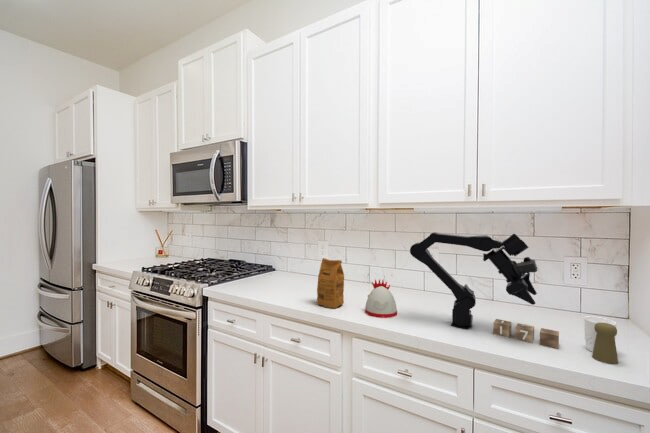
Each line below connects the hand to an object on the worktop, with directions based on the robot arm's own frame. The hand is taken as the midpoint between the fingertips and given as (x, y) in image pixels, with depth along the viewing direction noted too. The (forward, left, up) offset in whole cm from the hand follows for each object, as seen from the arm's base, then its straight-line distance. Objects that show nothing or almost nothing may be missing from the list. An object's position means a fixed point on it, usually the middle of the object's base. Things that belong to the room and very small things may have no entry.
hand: (535, 299), depth 111 cm
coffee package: (-79, -19, -14) cm, 83 cm away
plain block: (+5, -5, -14) cm, 15 cm away
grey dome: (-55, -13, -14) cm, 59 cm away
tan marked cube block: (-2, -5, -14) cm, 15 cm away
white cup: (+18, 0, -14) cm, 22 cm away
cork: (+19, -7, -14) cm, 24 cm away
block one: (-9, -5, -14) cm, 17 cm away
